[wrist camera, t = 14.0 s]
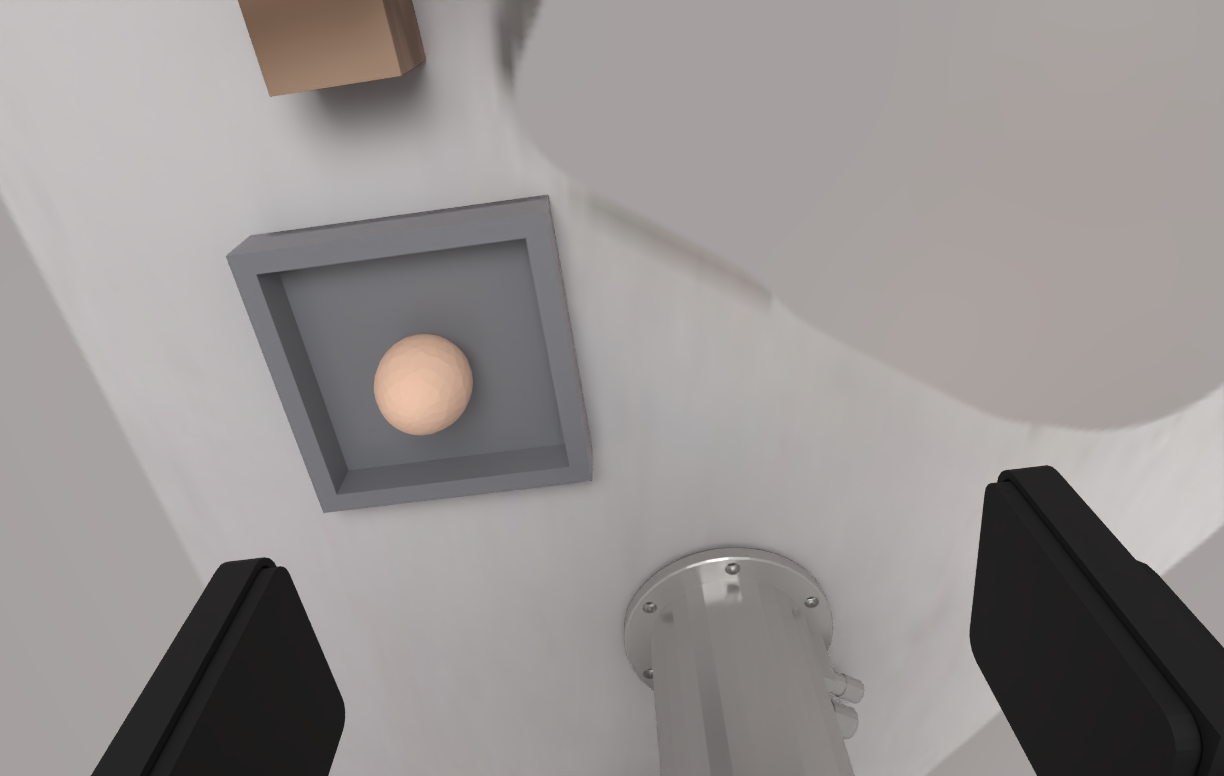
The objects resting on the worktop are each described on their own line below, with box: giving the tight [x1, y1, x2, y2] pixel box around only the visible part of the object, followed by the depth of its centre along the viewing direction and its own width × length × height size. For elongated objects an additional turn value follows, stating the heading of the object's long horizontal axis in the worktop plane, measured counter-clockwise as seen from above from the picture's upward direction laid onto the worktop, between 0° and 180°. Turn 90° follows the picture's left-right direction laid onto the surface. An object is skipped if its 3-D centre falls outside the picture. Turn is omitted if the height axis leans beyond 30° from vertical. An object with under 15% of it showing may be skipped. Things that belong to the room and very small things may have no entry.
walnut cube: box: [238, 0, 426, 97], centre depth 31 cm, size 5×5×5 cm
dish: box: [226, 195, 592, 513], centre depth 39 cm, size 14×14×3 cm
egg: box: [374, 334, 473, 435], centre depth 37 cm, size 4×4×6 cm
